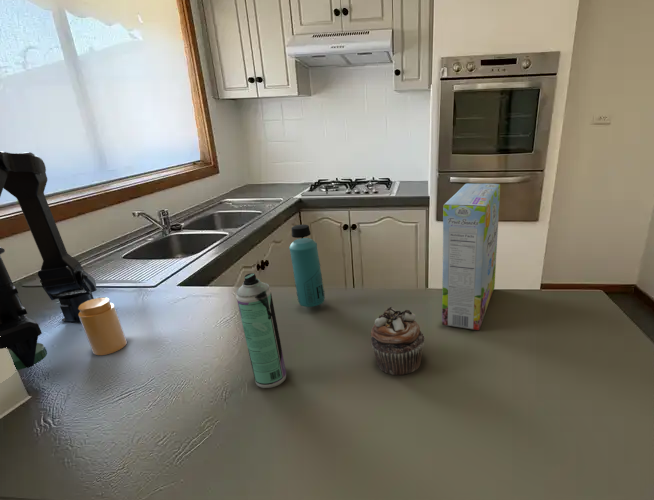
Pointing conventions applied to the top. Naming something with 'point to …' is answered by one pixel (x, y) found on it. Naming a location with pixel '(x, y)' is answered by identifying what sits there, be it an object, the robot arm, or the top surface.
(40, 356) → the jam lid
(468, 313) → the snack box
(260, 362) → the spray can
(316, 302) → the beverage bottle
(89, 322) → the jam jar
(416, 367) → the cupcake
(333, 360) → the top surface
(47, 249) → the robot arm
